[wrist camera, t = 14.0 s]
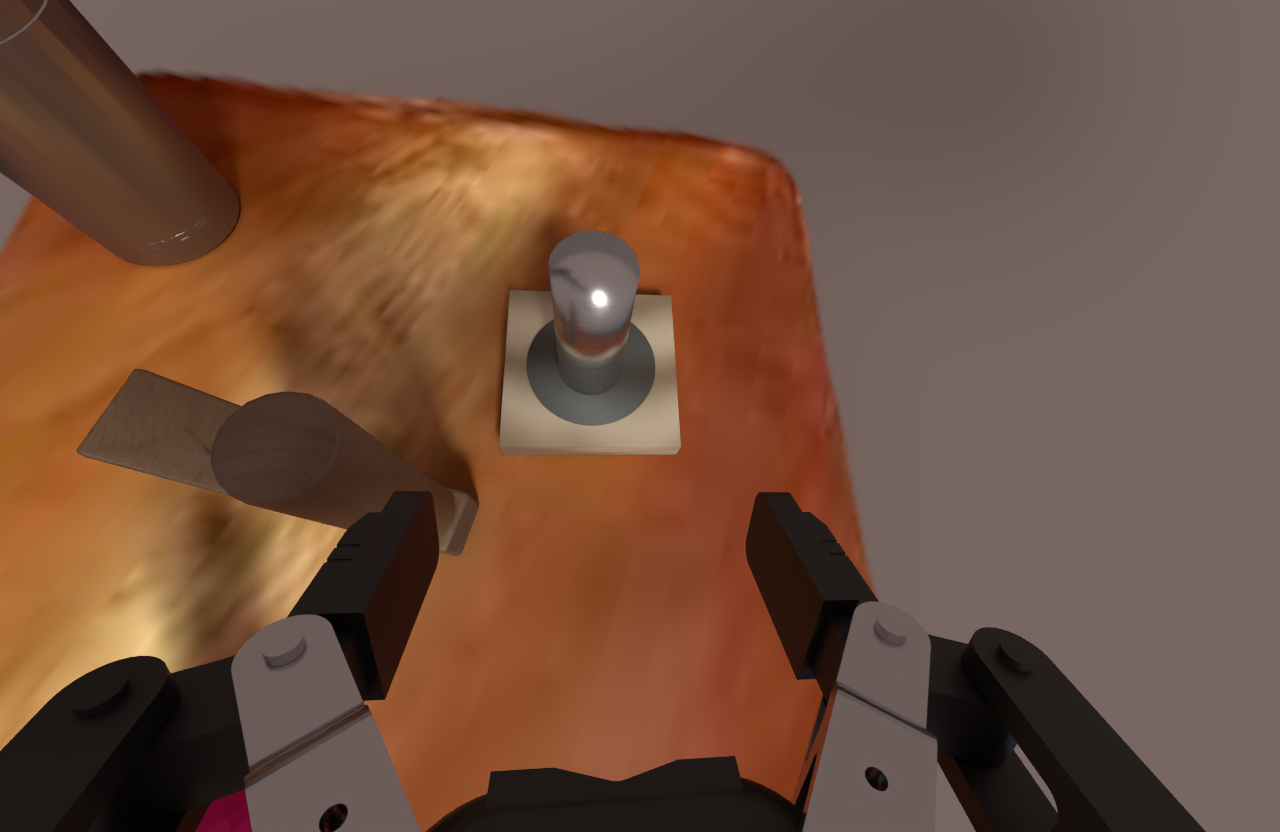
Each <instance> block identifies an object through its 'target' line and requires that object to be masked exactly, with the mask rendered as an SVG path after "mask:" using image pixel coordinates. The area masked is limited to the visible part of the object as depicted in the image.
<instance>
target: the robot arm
mask: <svg viewBox="0 0 1280 832" xmlns="http://www.w3.org/2000/svg"><path fill="white" fill-rule="evenodd" d="M0 173H2V174H3V175H5V176H6V177H7V178H9V179H10V180H11V181H13V182H14V183H16V184H17V185H19V186H20V187H21V188H23V189H24V190H26V191H27V192H28V193H30V194H31V195H32V196H34V197H35V198H37V199H38V200H39V201H41V202H42V203H44V204H45V205H46V206H48V207H49V208H51V209H52V210H53V211H55V212H56V213H57V214H59V215H60V216H61V217H63V218H64V219H66V220H67V221H68V222H70V223H71V224H73V225H74V226H75V227H77V228H78V229H80V230H81V231H82V232H84V233H85V234H87V235H88V236H89V237H91V238H92V239H94V240H95V241H96V242H98V243H99V244H101V245H102V246H103V247H105V248H106V249H108V250H109V251H110V252H112V253H113V254H115V255H116V256H118V257H120V258H122V259H124V260H126V261H128V262H132V263H136V264H140V265H149V266H163V265H173V264H177V263H182V262H186V261H189V260H191V259H194V258H196V257H199V256H201V255H203V254H205V253H207V252H208V251H210V250H212V249H213V248H215V247H216V246H217V245H218V244H220V243H221V242H222V241H223V240H224V239H225V238H226V237H227V236H228V235H229V233H230V232H231V231H232V230H233V228H234V226H235V224H236V222H237V219H238V214H239V200H238V197H237V195H236V193H235V191H234V189H233V188H232V187H231V186H230V185H229V183H228V182H227V181H226V180H225V179H224V178H223V176H222V175H221V174H220V173H219V172H218V171H217V170H216V168H215V167H214V166H213V165H212V164H211V163H210V161H209V160H208V159H207V158H206V157H205V156H204V155H203V153H202V152H201V151H200V150H199V149H198V148H197V146H196V145H195V144H194V143H193V142H192V140H191V139H190V138H189V137H188V136H187V135H186V133H185V132H184V131H183V130H182V129H181V128H180V127H179V125H178V124H177V123H176V122H175V121H174V120H173V119H172V117H171V116H170V115H169V114H168V113H167V112H166V111H165V109H164V108H163V107H162V106H161V105H160V104H159V103H158V101H157V100H156V99H155V98H154V97H153V96H152V94H151V93H150V92H149V91H148V90H147V89H146V88H145V86H144V85H143V84H142V83H141V82H140V81H139V80H138V78H137V77H136V76H135V75H134V74H133V73H132V72H131V70H130V69H129V68H128V67H127V66H126V65H125V64H124V62H123V61H122V60H121V59H120V58H119V57H118V56H117V54H116V53H115V52H114V51H113V50H112V49H111V48H110V46H109V45H108V44H107V43H106V42H105V41H104V39H103V38H102V37H101V36H100V35H99V34H98V33H97V32H96V30H95V29H94V28H93V27H92V26H91V25H90V23H89V22H88V21H87V20H86V19H85V18H84V17H83V15H82V14H81V13H80V12H79V11H78V10H77V9H76V7H75V6H74V5H73V4H72V3H71V2H70V0H0ZM836 541H837V540H836V539H835V537H834V536H833V534H832V533H831V532H830V530H829V529H828V527H827V526H826V525H825V524H824V523H823V522H821V521H820V520H819V519H818V518H816V517H815V516H814V515H812V514H811V513H810V512H802V511H801V509H800V508H799V506H798V505H797V503H796V502H795V500H794V498H793V497H792V496H791V494H790V493H788V492H759V493H758V494H757V496H756V498H755V502H754V507H753V511H752V516H751V520H750V525H749V529H748V534H747V538H746V556H747V561H748V564H749V566H750V569H751V571H752V574H753V576H754V578H755V581H756V583H757V585H758V588H759V590H760V593H761V595H762V597H763V600H764V602H765V604H766V607H767V609H768V612H769V614H770V616H771V619H772V621H773V624H774V626H775V628H776V631H777V633H778V635H779V638H780V640H781V643H782V645H783V647H784V650H785V652H786V655H787V657H788V659H789V662H790V664H791V666H792V669H793V671H794V674H795V676H796V678H797V680H801V679H816V680H817V682H818V684H819V686H820V689H821V691H822V693H823V694H822V697H821V700H820V703H819V707H818V710H817V714H816V717H815V721H814V725H813V728H812V732H811V735H810V739H809V743H808V746H807V750H806V753H805V757H804V761H803V764H802V768H801V771H800V775H799V778H798V781H797V784H796V787H795V790H794V793H793V796H792V799H791V802H790V801H789V800H787V799H786V798H784V797H783V796H781V795H780V794H778V793H777V792H775V791H773V790H771V789H769V788H767V787H765V786H764V785H762V784H759V783H756V782H754V781H751V780H748V779H745V778H741V777H740V774H739V770H738V766H737V762H736V758H735V756H729V757H713V758H697V759H682V760H676V761H673V762H671V763H668V764H665V765H663V766H660V767H657V768H655V769H652V770H649V771H647V772H644V773H641V774H639V775H636V776H634V777H631V778H628V779H626V780H622V781H609V780H605V779H601V778H596V777H592V776H588V775H583V774H579V773H575V772H570V771H566V770H562V769H558V768H540V769H525V770H509V771H493V772H491V774H490V781H489V787H488V793H487V794H485V795H483V796H480V797H477V798H475V799H473V800H471V801H469V802H467V803H465V804H463V805H461V806H459V807H458V808H456V809H455V810H453V811H452V812H450V813H449V814H447V815H446V816H444V817H443V818H442V819H440V820H439V821H438V822H437V823H435V824H434V825H433V826H432V827H430V828H429V829H428V830H427V831H426V832H934V831H935V803H936V775H937V761H938V763H939V765H940V767H941V769H942V771H943V772H944V774H945V776H946V778H947V780H948V782H949V783H950V785H951V787H952V789H953V791H954V792H955V794H956V796H957V798H958V800H959V802H960V803H961V805H962V807H963V809H964V811H965V812H966V814H967V816H968V818H969V820H970V821H971V823H972V825H973V827H974V829H975V831H976V832H1206V831H1205V830H1204V829H1203V828H1202V827H1201V826H1200V825H1199V824H1198V823H1197V822H1196V820H1195V819H1194V818H1193V817H1192V816H1191V815H1190V814H1189V813H1188V812H1187V811H1186V809H1184V807H1183V806H1182V805H1181V804H1180V803H1179V802H1178V801H1177V799H1176V798H1175V797H1174V796H1173V795H1172V794H1171V793H1170V792H1169V790H1168V789H1167V788H1166V787H1165V786H1164V785H1163V784H1162V783H1161V782H1160V781H1159V780H1158V778H1157V777H1156V776H1155V775H1154V774H1153V773H1152V772H1151V771H1150V769H1149V768H1148V767H1147V766H1146V765H1145V764H1144V763H1143V762H1142V761H1141V759H1139V757H1138V756H1137V755H1136V754H1135V753H1134V752H1133V751H1132V750H1131V748H1130V747H1129V746H1128V745H1127V744H1126V743H1125V742H1124V741H1123V740H1122V738H1121V737H1120V736H1119V735H1118V734H1117V733H1116V732H1115V731H1114V730H1113V728H1112V727H1111V726H1110V725H1109V724H1108V723H1107V722H1106V721H1105V720H1104V718H1103V717H1102V716H1101V715H1100V714H1099V713H1098V712H1097V711H1096V710H1095V709H1094V708H1093V706H1092V705H1091V704H1090V703H1089V702H1088V701H1087V700H1086V699H1085V698H1084V696H1083V695H1082V694H1081V693H1080V692H1079V691H1078V690H1077V689H1076V687H1075V686H1074V685H1073V684H1072V683H1071V682H1070V681H1069V680H1068V679H1067V678H1066V676H1065V675H1064V674H1063V673H1062V672H1061V671H1060V670H1059V669H1058V668H1057V667H1056V665H1055V664H1054V663H1053V662H1052V661H1051V660H1050V659H1049V658H1048V657H1047V656H1046V655H1045V654H1044V653H1043V652H1042V651H1041V650H1040V649H1038V648H1037V647H1035V646H1034V645H1033V644H1031V643H1030V642H1028V641H1026V640H1025V639H1023V638H1022V637H1020V636H1018V635H1016V634H1013V633H1011V632H1008V631H1005V630H1002V629H998V628H991V627H988V628H981V629H979V630H977V631H976V632H975V633H974V634H973V636H972V638H971V640H970V641H969V643H968V644H965V643H961V642H957V641H953V640H949V639H944V638H940V637H936V636H932V635H928V634H927V633H926V631H925V630H924V629H923V627H922V626H921V625H920V624H919V623H918V622H917V621H916V620H915V619H914V618H913V617H912V616H910V615H909V614H908V613H906V612H904V611H903V610H901V609H899V608H897V607H895V606H892V605H890V604H886V603H882V602H879V601H878V599H877V598H876V597H875V595H874V594H873V592H872V591H871V589H870V588H869V586H868V585H867V584H866V582H865V581H864V579H863V578H862V576H861V575H860V573H859V572H858V571H857V569H856V568H855V566H854V565H853V563H852V562H851V560H850V559H849V558H848V556H845V552H844V550H843V549H842V547H841V546H840V545H839V543H837V542H836ZM438 557H439V537H438V529H437V522H436V515H435V507H434V500H433V495H432V493H431V492H430V491H395V492H394V493H393V494H392V495H391V497H390V499H389V500H388V502H387V503H386V505H385V507H384V508H383V510H382V511H381V512H369V513H367V514H366V515H365V516H363V517H362V518H360V519H359V520H358V521H356V522H355V523H354V524H352V525H351V526H350V527H349V528H348V529H347V531H346V532H345V534H344V535H343V536H342V538H341V539H340V541H339V542H338V544H337V548H334V550H333V551H332V553H331V554H330V555H329V557H328V558H327V563H324V564H323V566H322V567H321V569H320V570H319V571H318V573H317V574H316V576H315V577H314V579H313V580H312V582H311V583H310V585H309V586H308V587H307V589H306V590H305V592H304V593H303V595H302V596H301V598H300V599H299V601H298V602H297V603H296V605H295V606H294V608H293V609H292V611H291V612H290V614H289V615H288V617H287V618H285V619H282V620H279V621H277V622H275V623H273V624H271V625H268V626H267V627H265V628H263V629H262V630H260V631H259V632H257V633H256V634H255V635H253V636H252V637H251V638H250V639H249V640H247V641H246V642H245V643H244V645H243V646H242V647H241V648H240V649H239V651H238V652H237V654H236V655H234V656H232V657H229V658H226V659H222V660H219V661H215V662H212V663H208V664H204V665H200V666H197V667H193V668H189V669H186V670H182V671H178V672H175V673H170V671H169V670H168V668H167V666H166V664H165V662H163V661H162V660H161V659H159V658H156V657H152V656H136V657H130V658H125V659H121V660H118V661H115V662H112V663H109V664H106V665H104V666H102V667H99V668H97V669H95V670H93V671H91V672H89V673H87V674H85V675H83V676H82V677H80V678H78V679H77V680H75V681H74V682H72V683H71V684H69V685H68V686H66V687H65V688H63V689H62V690H61V691H60V692H58V693H57V694H56V695H55V696H54V697H53V698H52V699H51V700H49V701H48V702H47V703H46V704H45V705H44V706H43V707H42V709H41V710H40V711H39V712H38V713H37V714H36V715H35V716H34V717H33V718H32V719H31V720H30V721H29V722H28V723H27V724H26V725H25V726H24V727H23V728H22V729H21V730H20V731H19V732H18V733H17V734H16V735H15V737H14V738H13V739H12V740H11V741H10V742H9V743H8V744H7V745H6V746H5V747H4V748H3V749H2V750H1V751H0V832H195V831H196V830H197V828H198V826H199V824H200V822H201V820H202V819H203V817H204V815H205V813H206V811H207V810H208V808H209V806H210V804H211V802H212V801H214V800H217V799H220V798H223V797H225V796H228V795H231V794H234V793H236V792H239V791H242V790H245V792H246V798H247V804H248V810H249V815H250V821H251V827H252V832H421V831H420V828H419V826H418V823H417V821H416V819H415V816H414V814H413V811H412V809H411V807H410V804H409V802H408V800H407V797H406V795H405V792H404V790H403V788H402V785H401V783H400V780H399V778H398V776H397V773H396V771H395V768H394V766H393V764H392V761H391V759H390V756H389V754H388V752H387V749H386V747H385V745H384V742H383V740H382V737H381V735H380V733H379V730H378V728H377V725H376V723H375V721H374V718H373V716H372V714H371V711H370V709H369V707H368V706H367V705H364V701H366V700H385V698H386V696H387V693H388V690H389V688H390V685H391V683H392V680H393V678H394V675H395V673H396V670H397V667H398V665H399V662H400V660H401V657H402V655H403V652H404V649H405V647H406V644H407V642H408V639H409V637H410V634H411V631H412V629H413V626H414V624H415V621H416V619H417V616H418V613H419V611H420V608H421V606H422V603H423V601H424V598H425V595H426V593H427V590H428V588H429V585H430V583H431V580H432V577H433V575H434V572H435V570H436V567H437V563H438ZM1016 744H1018V745H1019V746H1020V748H1021V749H1022V751H1023V752H1024V754H1025V755H1026V756H1027V758H1028V759H1029V760H1030V762H1031V763H1032V765H1033V766H1034V767H1035V769H1036V771H1037V772H1038V773H1039V775H1040V776H1041V778H1042V779H1043V780H1044V782H1045V783H1046V785H1047V786H1048V788H1049V789H1050V791H1051V793H1052V795H1053V797H1054V799H1055V802H1056V805H1057V810H1058V813H1057V812H1056V810H1055V809H1054V807H1053V806H1052V805H1051V803H1050V802H1049V800H1048V799H1047V798H1046V796H1045V795H1044V793H1043V792H1042V790H1041V789H1040V787H1039V786H1038V784H1037V783H1036V782H1035V780H1034V779H1033V777H1032V776H1031V775H1030V773H1029V771H1028V770H1027V769H1026V767H1025V766H1024V764H1023V763H1022V761H1021V760H1020V759H1019V757H1018V756H1017V754H1016V753H1015V751H1014V750H1013V749H1014V748H1015V746H1016Z"/></svg>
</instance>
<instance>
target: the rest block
mask: <svg viewBox="0 0 1280 832" xmlns="http://www.w3.org/2000/svg"><path fill="white" fill-rule="evenodd" d="M499 448H500V450H501V451H502V453H503V455H676V453H677V452H678V450H679V449H680V448H681V443H680V427H679V412H678V396H677V381H676V365H675V350H674V334H673V319H672V303H671V296H662V295H636V296H635V302H634V307H633V312H632V318H631V323H630V329H629V334H628V339H627V345H626V350H625V356H624V361H623V366H622V372H621V376H620V378H619V380H618V382H617V383H616V384H615V385H614V386H613V387H612V388H611V389H610V390H608V391H606V392H604V393H602V394H598V395H584V394H580V393H578V392H575V391H574V390H572V389H571V388H569V387H568V386H567V385H566V384H565V383H564V381H563V380H562V378H561V375H560V372H559V364H558V355H557V345H556V335H555V325H554V316H553V306H552V296H551V291H529V290H510V296H509V310H508V325H507V339H506V354H505V368H504V382H503V397H502V411H501V425H500V440H499Z"/></svg>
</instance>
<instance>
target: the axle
mask: <svg viewBox="0 0 1280 832" xmlns="http://www.w3.org/2000/svg"><path fill="white" fill-rule="evenodd" d="M639 274H640V267H639V262H638V259H637V256H636V254H635V253H634V251H633V250H632V248H631V247H630V246H629V245H628V244H627V243H626V242H625V241H623V240H622V239H620V238H619V237H617V236H615V235H612V234H610V233H607V232H603V231H595V230H589V231H581V232H577V233H574V234H571V235H569V236H567V237H566V238H564V239H563V240H561V241H560V242H559V243H558V244H557V245H556V247H555V248H554V249H553V251H552V253H551V256H550V259H549V277H550V286H551V296H552V306H553V316H554V325H555V335H556V345H557V355H558V364H559V372H560V375H561V378H562V380H563V381H564V383H565V384H566V385H567V386H568V387H569V388H571V389H572V390H574V391H575V392H578V393H580V394H584V395H598V394H602V393H604V392H606V391H608V390H610V389H611V388H612V387H613V386H614V385H615V384H616V383H617V382H618V380H619V378H620V376H621V372H622V366H623V361H624V356H625V350H626V345H627V339H628V334H629V329H630V323H631V318H632V312H633V307H634V302H635V296H636V291H637V285H638V280H639Z"/></svg>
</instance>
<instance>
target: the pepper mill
mask: <svg viewBox="0 0 1280 832" xmlns="http://www.w3.org/2000/svg"><path fill="white" fill-rule="evenodd" d="M195 832H252V827H251V821H250V815H249V810H248V804H247V798H246V792H245V790H242V791H239V792H236V793H234V794H231V795H228V796H225V797H223V798H220V799H217V800H214V801H212V802H211V804H210V806H209V808H208V810H207V811H206V813H205V815H204V817H203V819H202V820H201V822H200V824H199V826H198V828H197V830H196V831H195Z"/></svg>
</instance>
